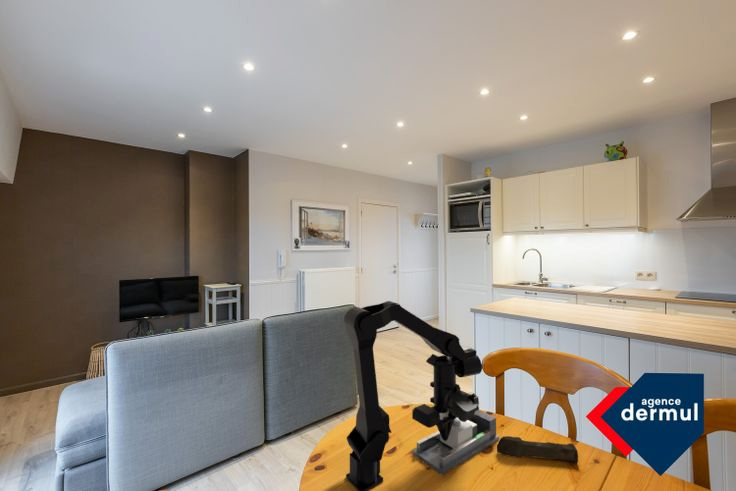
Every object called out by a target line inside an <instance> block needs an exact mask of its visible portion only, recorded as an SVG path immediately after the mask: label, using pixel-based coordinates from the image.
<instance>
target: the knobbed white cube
mask: <svg viewBox="0 0 736 491" xmlns="http://www.w3.org/2000/svg"><path fill="white" fill-rule="evenodd" d="M470 439H472V425H471V424H469V423H467V422H462V421H460V420H459V419H458V418H456V419H455V420H454V422H453V425H452V428H451V431H450V434H449V437H448V440H447V441H444V440H443V439H442V437H441V435H440V441H442V442H444V443H445V444H447V445H449V446H450V447H452V448H456V447H458V446H459V445H461V444H463V443H465V442H466V441H468V440H470Z"/></svg>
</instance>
